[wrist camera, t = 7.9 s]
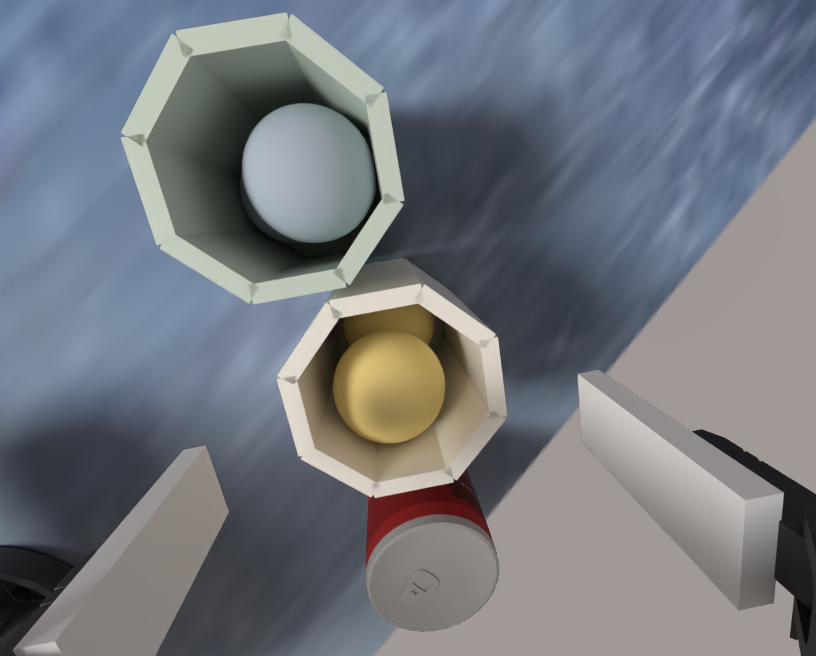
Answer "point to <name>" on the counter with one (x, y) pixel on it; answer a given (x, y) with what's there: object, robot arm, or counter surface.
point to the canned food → (429, 556)
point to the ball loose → (389, 386)
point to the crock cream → (463, 401)
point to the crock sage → (224, 145)
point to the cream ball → (391, 323)
